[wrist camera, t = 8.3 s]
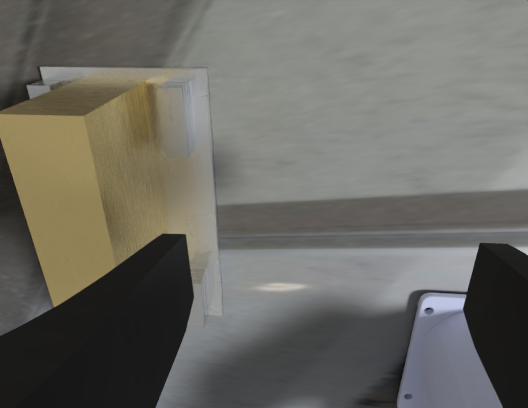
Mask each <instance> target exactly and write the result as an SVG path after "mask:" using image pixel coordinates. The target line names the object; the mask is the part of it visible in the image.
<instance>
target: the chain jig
mask: <svg viewBox="0 0 528 408" xmlns="http://www.w3.org/2000/svg"><path fill="white" fill-rule="evenodd" d="M40 70H41V74H42V78H43V80H41V81H38V82H35V83H32V84H29V85H27V89H28V93H29V97H30V99H32V98H34V97H37V96H39V95H42V94H44V93H47V92H49V91H52V90H54V89H57V88H59V87H62V86H64V85H67V84H69V83H72V82H74V81H77V80H79V79H82V78H146V79H150V85H151V93H152V100H153V108H154V116H155V123H156V131H157V139H158V146H159V154H160V162H161V169H162V177H163V185H164V192H165V200H166V208H167V215H168V223H169V231H170V234H186V239H187V246H188V254H189V261H190V269H191V276H192V284H193V291H194V300H193V304H192V308H191V312H190V317H189V320H188V324H187V326H190V327H205V324H206V320H207V317H208V315H215V316H222V315H223V296H222V281H221V265H220V250H219V235H218V220H217V204H216V189H215V174H214V158H213V143H212V128H211V113H210V97H209V82H208V67H136V66H56V65H44V66H41V67H40Z"/></svg>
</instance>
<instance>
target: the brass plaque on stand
mask: <svg viewBox="0 0 528 408" xmlns="http://www.w3.org/2000/svg"><path fill="white" fill-rule="evenodd" d="M0 139H1V142H2V145H3V148H4V151H5V154H6V158H7V161H8V164H9V167H10V170H11V173H12V176H13V180H14V183H15V186H16V189H17V192H18V195H19V198H20V202H21V205H22V208H23V211H24V214H25V217H26V220H27V224H28V227H29V230H30V233H31V236H32V239H33V243H34V246H35V249H36V252H37V255H38V258H39V261H40V265H41V268H42V271H43V274H44V277H45V280H46V283H47V287H48V290H49V293H50V296H51V299H52V302H53V305H54V307H56V306H57V305H59V304H61V303H62V302H64V301H66V300H67V299H69V298H70V297H72V296H74V295H75V294H77V293H78V292H80V291H81V290H83V289H84V288H86V287H87V286H89V285H90V284H92V283H93V282H95V281H96V280H98V279H99V278H101V277H102V276H104V275H105V274H107V273H108V272H109V271H111V270H112V269H114V268H115V267H116V266H118V265H119V264H121V263H122V262H123V261H125V260H126V259H128V258H129V257H130V256H132V255H133V254H134V253H136V252H137V251H138V250H140V249H141V248H142V247H144V246H145V245H147V244H148V243H149V242H151V241H152V240H154V239H155V238H156V237H158V236H160V235H161V234H163V233H166V234H170V231H169V223H168V215H167V208H166V200H165V192H164V185H163V177H162V169H161V162H160V154H159V146H158V139H157V131H156V123H155V116H154V108H153V100H152V93H151V85H150V79H146V78H82V79H79V80H77V81H74V82H72V83H69V84H67V85H64V86H62V87H59V88H57V89H54V90H52V91H49V92H47V93H44V94H42V95H39V96H37V97H34V98H32V99H29V100H27V101H24V102H22V103H19V104H17V105H14V106H12V107H9V108H7V109H4V110H2V111H0Z"/></svg>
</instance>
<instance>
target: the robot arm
mask: <svg viewBox="0 0 528 408" xmlns="http://www.w3.org/2000/svg"><path fill="white" fill-rule="evenodd" d="M193 300H194V291H193V284H192V276H191V269H190V261H189V254H188V246H187V239H186V234H166V233H163V234H161V235H160V236H158V237H156V238H155V239H154V240H152V241H151V242H149V243H148V244H147V245H145V246H144V247H142V248H141V249H140V250H138V251H137V252H136V253H134V254H133V255H132V256H130V257H129V258H128V259H126V260H125V261H123V262H122V263H121V264H119V265H118V266H116V267H115V268H114V269H112V270H111V271H109V272H108V273H107V274H105V275H104V276H102V277H101V278H99V279H98V280H96V281H95V282H93V283H92V284H90V285H89V286H87V287H86V288H84V289H83V290H81V291H80V292H78V293H77V294H75V295H74V296H72V297H70V298H69V299H67V300H66V301H64V302H62V303H61V304H59V305H57V306H56V307H54V308H52V309H51V310H49V311H47V312H45V313H44V314H42V315H40V316H38V317H36V318H34V319H33V320H31V321H29V322H27V323H25V324H24V325H22V326H20V327H18V328H16V329H14V330H12V331H10V332H8V333H6V334H3V335H1V336H0V408H155V407H156V405H157V402H158V400H159V397H160V395H161V392H162V390H163V387H164V385H165V382H166V380H167V377H168V375H169V372H170V370H171V367H172V365H173V362H174V360H175V357H176V355H177V352H178V350H179V347H180V345H181V342H182V339H183V337H184V334H185V332H186V328H187V324H188V320H189V317H190V312H191V308H192V304H193ZM429 307H430V308H431V309H429V310H425V309H426V308H429ZM397 407H398V408H528V255H526V254H525V253H523V252H521V251H520V250H518V249H516V248H514V247H512V246H510V245H508V244H495V243H480V245H479V249H478V252H477V256H476V260H475V264H474V268H473V272H472V276H471V279H470V283H469V287H468V291H467V295H465V294H447V293H425V294H423V295H422V296H421V297H420V300H419V304H418V308H417V313H416V317H415V322H414V326H413V331H412V335H411V340H410V344H409V349H408V353H407V357H406V362H405V366H404V371H403V375H402V380H401V384H400V389H399V393H398V398H397Z"/></svg>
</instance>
